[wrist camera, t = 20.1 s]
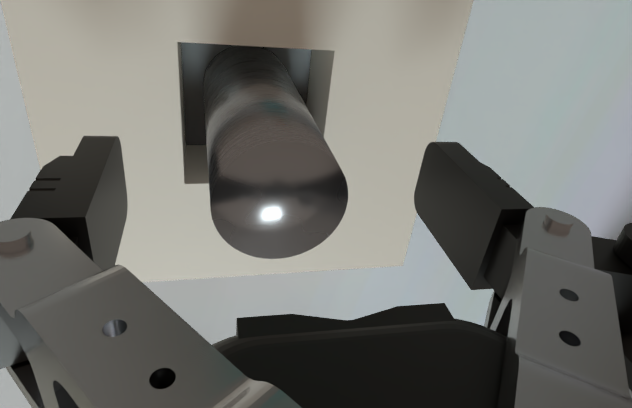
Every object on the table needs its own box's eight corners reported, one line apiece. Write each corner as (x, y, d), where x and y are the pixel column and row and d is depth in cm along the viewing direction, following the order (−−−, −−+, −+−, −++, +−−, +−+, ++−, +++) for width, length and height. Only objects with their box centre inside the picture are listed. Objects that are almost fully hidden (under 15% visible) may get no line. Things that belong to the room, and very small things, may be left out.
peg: (290, 44, 17) (354, 137, 10) (288, 126, 18) (342, 251, 12) (199, 44, 16) (205, 145, 9) (206, 130, 18) (215, 265, 11)
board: (450, -96, 15) (499, -96, 13) (379, 225, 22) (402, 265, 20) (6, -160, 12) (-41, -175, 10) (84, 237, 19) (68, 286, 17)
